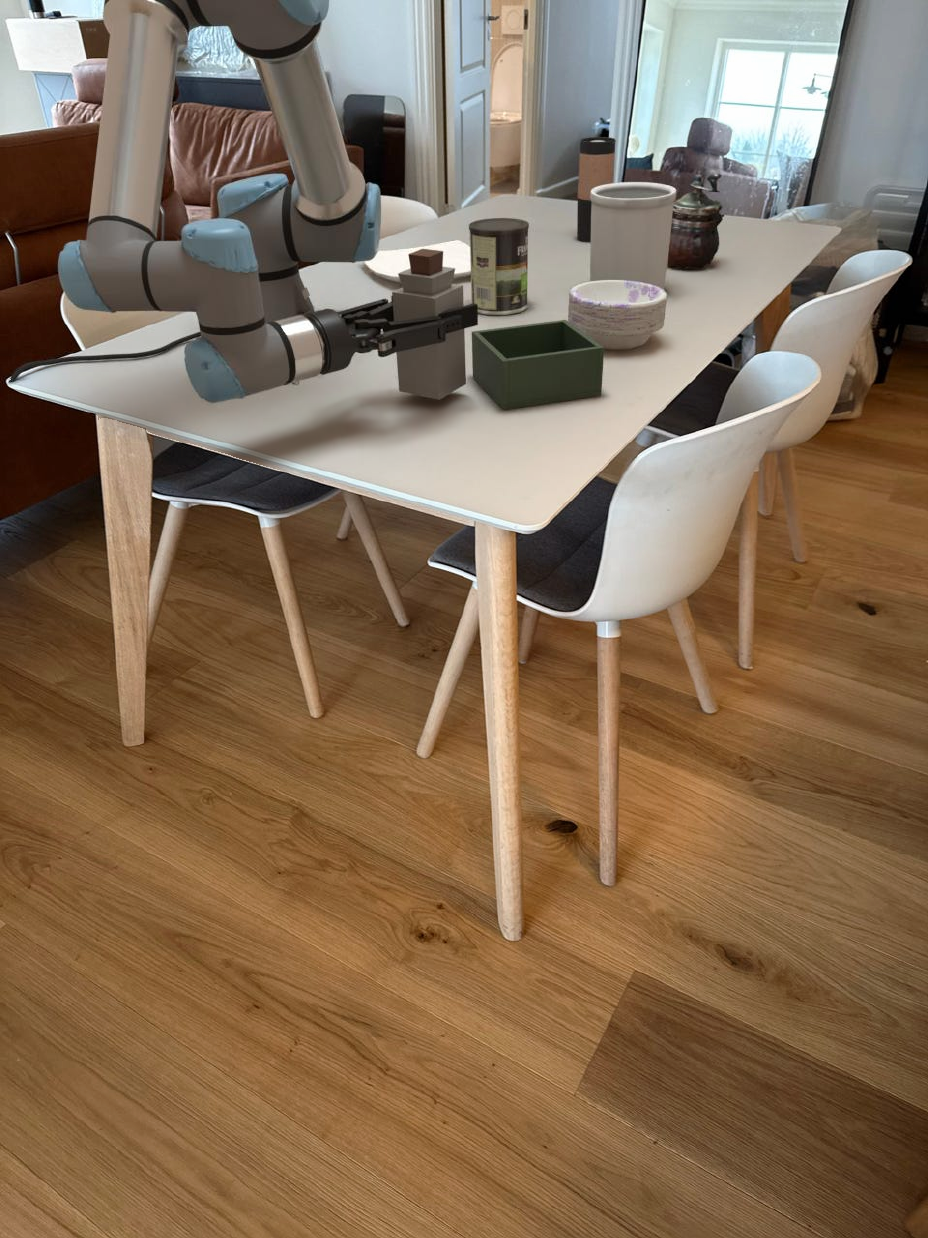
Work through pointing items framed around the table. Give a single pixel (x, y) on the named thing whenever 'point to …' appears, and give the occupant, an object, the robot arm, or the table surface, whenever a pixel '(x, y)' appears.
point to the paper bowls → (617, 311)
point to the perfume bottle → (426, 297)
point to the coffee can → (499, 265)
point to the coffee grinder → (695, 227)
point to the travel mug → (592, 177)
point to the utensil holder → (631, 232)
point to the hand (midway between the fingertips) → (458, 307)
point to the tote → (537, 364)
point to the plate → (398, 260)
